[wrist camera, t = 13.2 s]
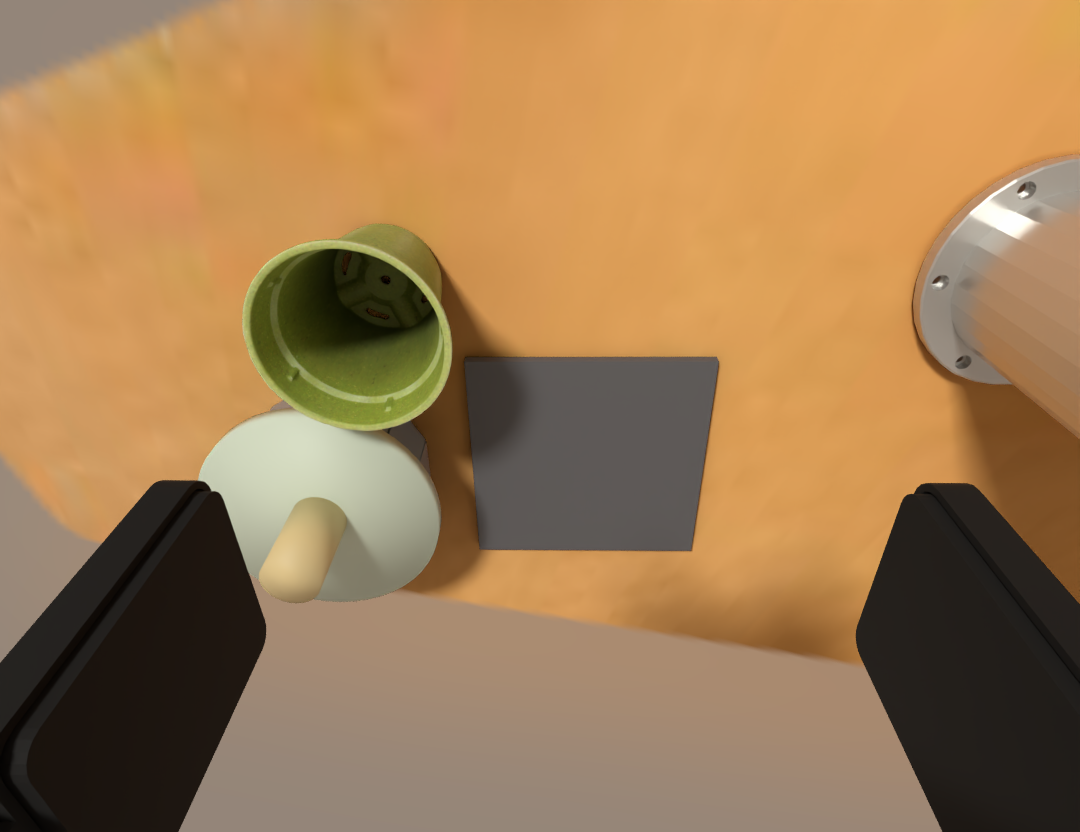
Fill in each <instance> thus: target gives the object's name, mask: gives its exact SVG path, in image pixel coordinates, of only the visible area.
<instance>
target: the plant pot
mask: <svg viewBox="0 0 1080 832" xmlns="http://www.w3.org/2000/svg"><path fill="white" fill-rule="evenodd" d="M347 252H349V253H351V255H352V257H351V259H350V261H349V264H348V269H347V271H346V273H347V274H346V275H344V273H343V271H342V260H343V258H344V255H345V254H346V253H347ZM382 276H388V277H389V278H390V283H389V284H385V283H383V282H382V280H381V278H382ZM424 294H425V296H426V297H427V299H428V301H427V302H425V303H422V301H421V299H422V297H423V295H424ZM441 296H442V277H441V271H440V268H439V266H438V263H437V261H436V259H435V257H434V256H433V254H432V253H431V251H430V249H429V248H428V246H427V245H426V244H425V243H424V242H423V241H422V240H421V239H420V238H419V237H417V236H416V235H414V234H413V233H411V232H409V231H408V230H405V229H403V228H400V227H397V226H394V225H389V224H371V225H367V226H364V227H361V228H358V229H356V230H354V231H352V232H350V233H348V234H346V235H345V236H343V237H341V238H339V239H325V240H315V241H310V242H306V243H302V244H299V245H296V246H294V247H291V248H289V249H287V250H285V251H283V252H281V253H280V254H278V255H277V256H275V257H274V258H272V259H271V260H270V261H269V262H267V263H266V264H265V265H264V266H263V267H262V268H261V270H260V271H259V272H258V274H257V275H256V276H255V278H254V279H253V281H252V283H251V285H250V287H249V289H248V292H247V295H246V297H245V301H244V306H243V319H242V325H243V334H244V339H245V342H246V346H247V349H248V352H249V355H250V357H251V360H252V362H253V364H254V366H255V367H256V369H257V371H258V373H259V374H260V376H261V377H262V378H263V380H264V381H265V382H266V384H267V385H268V386H269V387H270V388H271V389H272V390H273V391H274V392H275V393H276V394H277V395H278V396H279V397H280V398H281V399H282V400H284V401H285V402H287V403H288V404H289V405H290V406H292V407H293V408H294V409H296V410H297V411H299V412H300V413H302V414H304V415H305V416H307V417H309V418H311V419H314V420H316V421H319V422H321V423H324V424H328V425H331V426H333V427H337V428H342V429H349V430H359V431H374V430H381V429H385V428H391V427H394V426H398V425H401V424H403V423H406V422H408V421H410V420H412V419H413V418H415V417H417V416H419V415H420V414H422V413H423V412H424V411H425V410H426V409H428V408H429V407H430V406H431V405H432V404H433V403H434V401H435V400H436V399H437V398H438V396H439V395H440V393H441V391H442V390H443V388H444V386H445V384H446V381H447V379H448V376H449V373H450V368H451V363H452V335H451V329H450V325H449V322H448V318H447V316H446V313H445V310H444V308H443V306H442V304H441ZM367 308H370V309H372V310H375V311H377V312H380V313H383V314H387V315H389V318H388V319H383V318H379V317H374V316H372V315H370V314H368V313H367V311H366V309H367Z"/></svg>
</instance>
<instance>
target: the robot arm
mask: <svg viewBox="0 0 1080 832" xmlns="http://www.w3.org/2000/svg"><path fill="white" fill-rule="evenodd" d="M913 311H914V322H915V326H916V329H917V332H918V335H919V338H920V340H921V341H922V343H923V344H924V346H925V347H926V349H927V350H928V352H929V353H930V354H931V355H932V356H933V357H934V358H935V359H936V360H937V361H938V362H939V363H940V364H941V365H943V366H944V367H945V368H947V369H948V370H949V371H951V372H952V373H954V374H956V375H958V376H961V377H963V378H966V379H968V380H971V381H974V382H980V383H985V384H991V385H1014V386H1015V387H1017V388H1018V389H1019V390H1020V391H1021V392H1023V393H1024V394H1025V395H1026V396H1027V397H1029V398H1030V399H1031V400H1032V401H1034V402H1035V403H1036V404H1037V405H1038V406H1040V407H1041V408H1042V409H1043V410H1044V411H1046V412H1047V413H1048V414H1049V415H1051V416H1052V417H1053V418H1054V419H1055V420H1057V421H1058V422H1059V423H1060V424H1062V425H1063V426H1064V427H1065V428H1066V429H1068V430H1069V431H1070V432H1071V433H1072V434H1074V435H1075V436H1076V437H1077V438H1079V439H1080V154H1078V155H1067V156H1062V157H1056V158H1051V159H1046V160H1043V161H1040V162H1038V163H1035V164H1032V165H1030V166H1027V167H1024V168H1021V169H1019V170H1017V171H1015V172H1013V173H1011V174H1010V175H1008V176H1006V177H1004V178H1002V179H1000V180H999V181H997V182H995V183H993V184H992V185H991V186H989V187H988V188H987V189H985V190H984V191H982V192H981V193H980V194H978V195H977V196H976V197H974V198H973V199H972V200H971V201H970V202H968V203H967V204H966V205H965V206H964V207H963V208H962V209H961V210H960V211H959V212H958V213H957V214H956V215H955V216H954V217H953V218H952V219H951V220H950V222H949V223H948V224H947V225H946V227H945V228H944V229H943V231H942V232H941V233H940V235H939V236H938V237H937V238H936V240H935V241H934V243H933V245H932V247H931V249H930V250H929V252H928V254H927V256H926V258H925V259H924V261H923V264H922V267H921V270H920V273H919V275H918V278H917V281H916V286H915V292H914V299H913ZM265 638H266V623H265V619H264V617H263V614H262V611H261V608H260V605H259V602H258V599H257V596H256V593H255V590H254V587H253V584H252V581H251V578H250V576H249V573H248V570H247V567H246V564H245V561H244V558H243V555H242V552H241V549H240V546H239V543H238V541H237V538H236V535H235V532H234V529H233V526H232V523H231V520H230V517H229V514H228V511H227V508H226V505H225V503H224V500H223V498H222V496H221V494H220V493H219V492H216V491H211V489H210V487H209V485H208V484H207V483H206V482H203V481H180V480H162V481H158V482H156V483H154V484H153V485H152V486H151V487H150V488H149V489H148V490H147V491H146V493H145V494H144V495H143V496H142V497H141V498H140V500H139V501H138V502H137V503H136V504H135V506H134V507H133V508H132V509H131V510H130V511H129V513H128V514H127V515H126V516H125V517H124V518H123V520H122V521H121V522H120V523H119V524H118V525H117V527H116V528H115V529H114V530H113V531H112V532H111V534H110V535H109V536H108V537H107V538H106V540H105V541H104V542H103V543H102V544H101V545H100V547H99V548H98V549H97V550H96V551H95V553H94V554H93V555H92V556H91V557H90V558H89V559H88V561H87V562H86V563H85V564H84V565H83V566H82V568H81V569H80V570H79V571H78V572H77V574H76V575H75V576H74V577H73V578H72V579H71V581H70V582H69V583H68V584H67V585H66V586H65V588H64V589H63V590H62V591H61V592H60V593H59V595H58V596H57V597H56V598H55V599H54V600H53V602H52V603H51V604H50V605H49V606H48V608H47V609H46V610H45V611H44V612H43V613H42V615H41V616H40V617H39V618H38V619H37V620H36V622H35V623H34V624H33V625H32V626H31V628H30V629H29V630H28V631H27V632H26V633H25V635H24V636H23V637H22V638H21V639H20V640H19V642H18V643H17V644H16V645H15V646H14V648H13V649H12V650H11V651H10V652H9V653H8V654H7V656H6V657H5V658H4V659H3V660H2V662H1V663H0V832H178V831H179V829H180V827H181V825H182V823H183V821H184V818H185V816H186V814H187V812H188V810H189V807H190V805H191V803H192V801H193V799H194V797H195V794H196V792H197V790H198V788H199V786H200V784H201V781H202V779H203V777H204V775H205V773H206V771H207V768H208V766H209V764H210V762H211V760H212V758H213V755H214V753H215V751H216V749H217V747H218V745H219V742H220V740H221V738H222V736H223V734H224V732H225V729H226V727H227V725H228V723H229V721H230V719H231V716H232V714H233V712H234V710H235V707H236V706H237V703H238V701H239V699H240V697H241V695H242V693H243V690H244V688H245V686H246V684H247V682H248V680H249V677H250V675H251V673H252V671H253V669H254V667H255V664H256V662H257V659H258V658H259V655H260V653H261V651H262V649H263V646H264V643H265ZM856 644H857V648H858V652H859V654H860V657H861V659H862V661H863V663H864V665H865V668H866V670H867V672H868V674H869V676H870V678H871V680H872V682H873V685H874V686H875V689H876V691H877V693H878V695H879V697H880V699H881V702H882V703H883V706H884V708H885V710H886V712H887V714H888V717H889V719H890V721H891V723H892V725H893V727H894V729H895V731H896V733H897V736H898V738H899V740H900V742H901V744H902V746H903V748H904V751H905V753H906V755H907V757H908V759H909V761H910V763H911V765H912V768H913V770H914V772H915V774H916V776H917V778H918V780H919V783H920V785H921V786H922V789H923V791H924V793H925V795H926V797H927V800H928V802H929V804H930V806H931V808H932V810H933V812H934V814H935V817H936V819H937V821H938V823H939V825H940V827H941V829H942V832H1080V604H1079V603H1078V602H1077V601H1076V600H1075V599H1074V597H1073V596H1072V595H1071V594H1070V593H1069V592H1068V591H1067V589H1066V588H1065V587H1064V586H1063V585H1062V584H1061V583H1060V581H1059V580H1058V579H1057V578H1056V577H1055V576H1054V575H1053V574H1052V572H1051V571H1050V570H1049V569H1048V568H1047V567H1046V566H1045V564H1044V563H1043V562H1042V561H1041V560H1040V559H1039V558H1038V556H1037V555H1036V554H1035V553H1034V552H1033V551H1032V550H1031V548H1030V547H1029V546H1028V545H1027V544H1026V543H1025V542H1024V541H1023V539H1022V538H1021V537H1020V536H1019V535H1018V534H1017V533H1016V531H1015V530H1014V529H1013V528H1012V527H1011V526H1010V525H1009V523H1008V522H1007V521H1006V520H1005V519H1004V518H1003V517H1002V516H1001V514H1000V513H999V512H998V511H997V510H996V509H995V508H994V506H993V505H992V504H991V503H990V502H989V501H988V500H987V498H986V497H985V496H984V495H983V494H982V493H981V492H980V491H979V490H978V489H977V488H976V487H975V486H974V485H971V484H967V483H925V484H921V485H920V486H919V487H918V488H917V489H916V491H915V493H914V494H909V495H907V496H905V497H904V499H903V501H902V503H901V505H900V508H899V511H898V514H897V516H896V519H895V522H894V525H893V528H892V530H891V533H890V536H889V539H888V542H887V544H886V547H885V550H884V553H883V556H882V558H881V561H880V564H879V567H878V570H877V572H876V575H875V578H874V581H873V583H872V586H871V589H870V592H869V595H868V597H867V600H866V603H865V606H864V609H863V611H862V614H861V617H860V620H859V623H858V625H857V629H856Z"/></svg>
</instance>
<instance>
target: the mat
mask: <svg viewBox="0 0 1080 832" xmlns="http://www.w3.org/2000/svg"><path fill="white" fill-rule="evenodd" d="M718 364H719V361H718V359H717V357H465V361H464V365H465V377H466V389H467V401H468V414H469V426H470V438H471V450H472V462H473V474H474V486H475V499H476V511H477V523H478V535H479V547H480V549H491V550H650V551H691V547H692V540H693V533H694V526H695V520H696V513H697V506H698V499H699V492H700V486H701V479H702V472H703V465H704V459H705V452H706V445H707V438H708V431H709V425H710V418H711V411H712V404H713V398H714V391H715V384H716V377H717V370H718Z"/></svg>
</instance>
